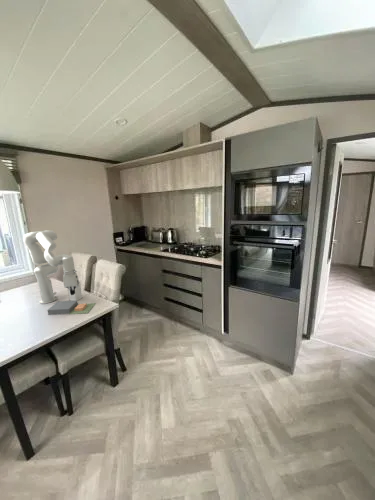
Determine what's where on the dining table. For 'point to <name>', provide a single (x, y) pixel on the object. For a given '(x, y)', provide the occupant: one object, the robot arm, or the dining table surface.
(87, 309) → the mat
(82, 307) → the tile
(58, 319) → the dining table surface
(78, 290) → the milk carton
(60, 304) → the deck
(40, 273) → the robot arm
